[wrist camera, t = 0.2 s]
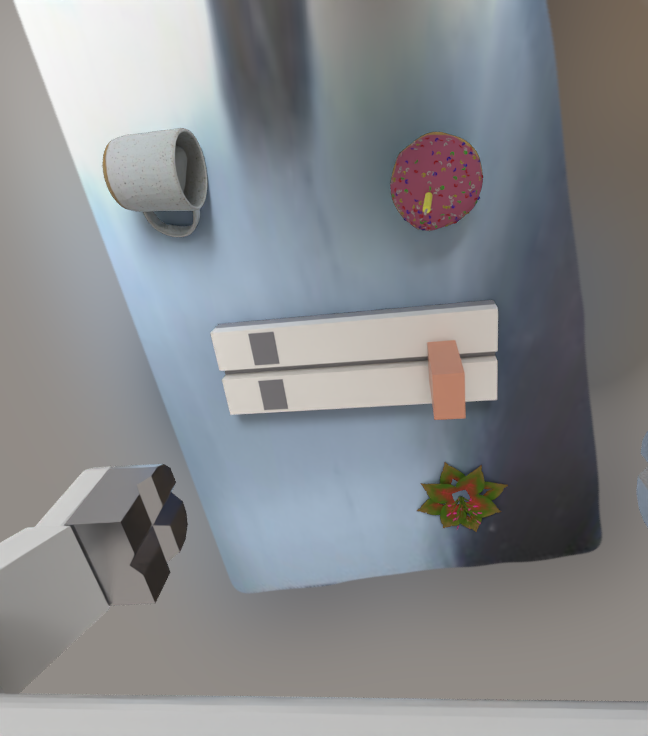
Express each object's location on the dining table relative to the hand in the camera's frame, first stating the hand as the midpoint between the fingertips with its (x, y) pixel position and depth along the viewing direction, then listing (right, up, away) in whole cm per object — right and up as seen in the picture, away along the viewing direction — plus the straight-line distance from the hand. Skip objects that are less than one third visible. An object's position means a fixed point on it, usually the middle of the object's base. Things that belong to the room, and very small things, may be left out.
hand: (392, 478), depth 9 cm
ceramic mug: (-17, +22, +46) cm, 54 cm away
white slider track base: (+3, +3, +52) cm, 52 cm away
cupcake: (+10, +21, +42) cm, 48 cm away
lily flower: (+17, -15, +60) cm, 64 cm away
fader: (+12, +3, +49) cm, 50 cm away
